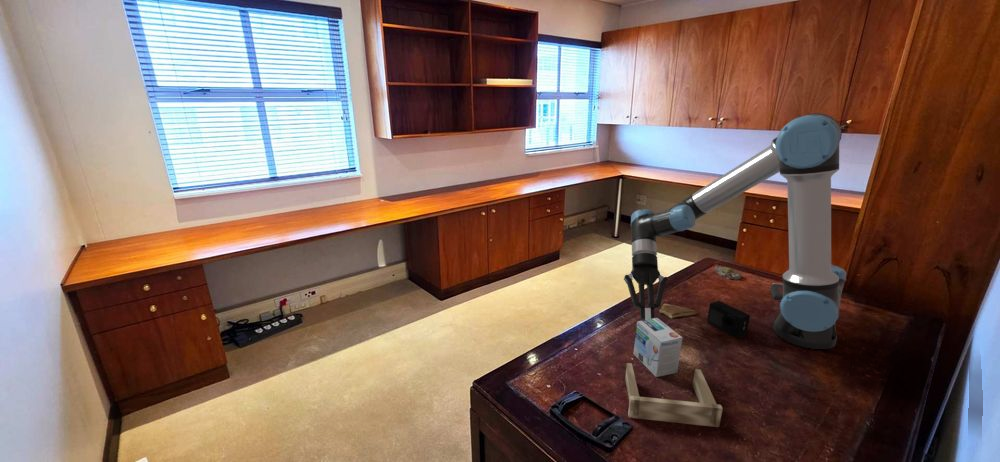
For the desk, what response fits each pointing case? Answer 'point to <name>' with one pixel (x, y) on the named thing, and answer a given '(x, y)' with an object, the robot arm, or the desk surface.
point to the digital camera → (728, 319)
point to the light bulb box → (657, 347)
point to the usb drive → (777, 291)
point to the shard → (676, 311)
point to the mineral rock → (727, 273)
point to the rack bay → (674, 404)
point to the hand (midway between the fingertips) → (648, 331)
